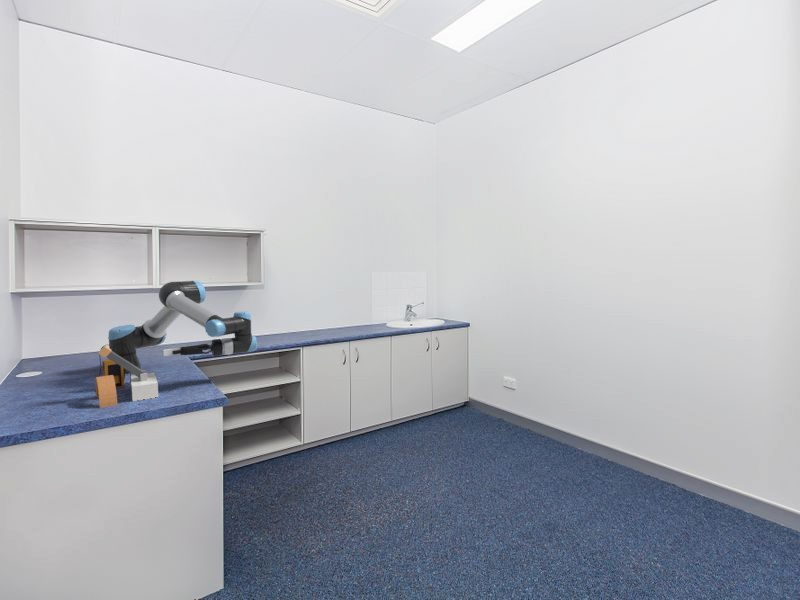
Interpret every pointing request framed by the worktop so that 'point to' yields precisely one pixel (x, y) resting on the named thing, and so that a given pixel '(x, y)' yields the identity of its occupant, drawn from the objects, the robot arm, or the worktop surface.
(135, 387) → the white rectangular slab
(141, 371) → the lever
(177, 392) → the worktop surface
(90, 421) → the worktop surface
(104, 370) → the multimeter
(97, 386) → the arch
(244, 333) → the robot arm
